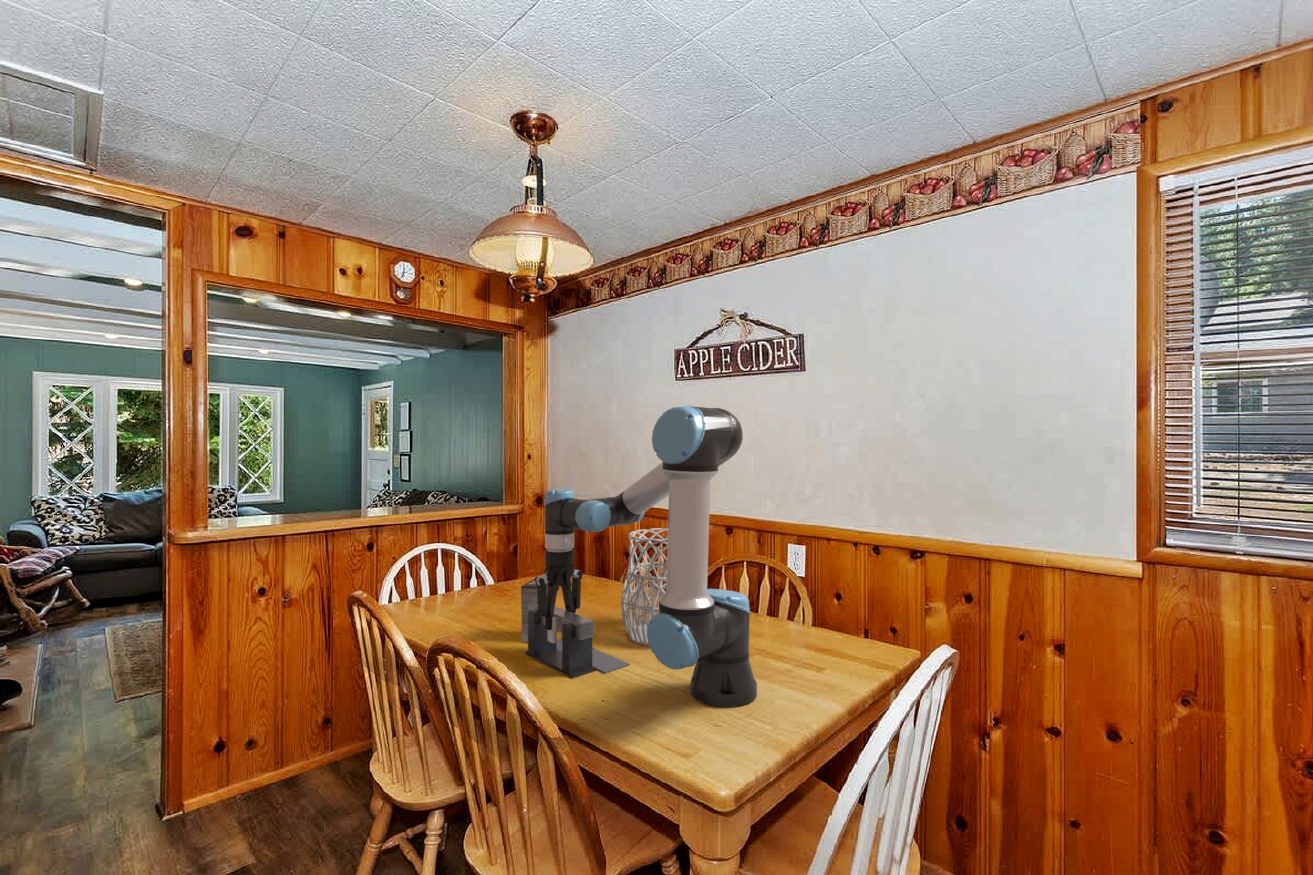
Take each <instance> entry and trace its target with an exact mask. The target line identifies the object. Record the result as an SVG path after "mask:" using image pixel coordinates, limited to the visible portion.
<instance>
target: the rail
mask: <svg viewBox="0 0 1313 875" xmlns="http://www.w3.org/2000/svg"><path fill="white" fill-rule="evenodd" d="M528 610H533V611H535V612H537V622H538V623H540V624H542V625H545V617H544V616H541V615H539V614H538V602H534V603H530V604H528ZM553 616H554V617H556V630H557V632H559V633H562V624H567V625H570V626H572V637H573V638H576V639H578V640H580V641H581V640H584V639H588V638H591V637H592V638H594V637H595V621H594V620H593V619H590V618H588V617H585V616H582V615H580V614H577V613H572V612H569V611H567V610H566V609H564V608H561V607H558V606H556V605H555V608H554V614H553Z"/></svg>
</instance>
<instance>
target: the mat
mask: <svg viewBox="0 0 1313 875" xmlns="http://www.w3.org/2000/svg"><path fill="white" fill-rule="evenodd" d="M557 650H559V651H561V652H562V637H561V638H557ZM630 665H631V663H629V662H628V661H627V662H626V661H625V660H622V659H619V658H618V657H615V656H612V655H611V654H608V653H606V652H603V651H600V650H599V649H596V648H594V647H592V666H594V667H596V671H598V672H601V673H603V674H608V673H612V672H614V671H617V670H620V669H623V668H626V667H629V666H630Z"/></svg>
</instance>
